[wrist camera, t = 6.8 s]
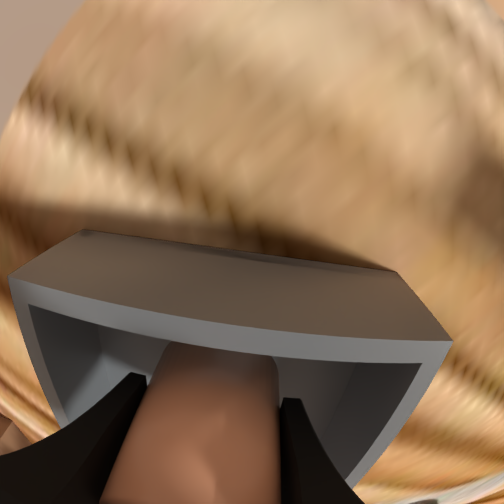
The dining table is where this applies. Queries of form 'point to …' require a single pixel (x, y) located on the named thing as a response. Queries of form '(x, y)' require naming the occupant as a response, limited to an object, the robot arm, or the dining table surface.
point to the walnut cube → (11, 437)
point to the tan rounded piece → (203, 432)
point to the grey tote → (232, 330)
